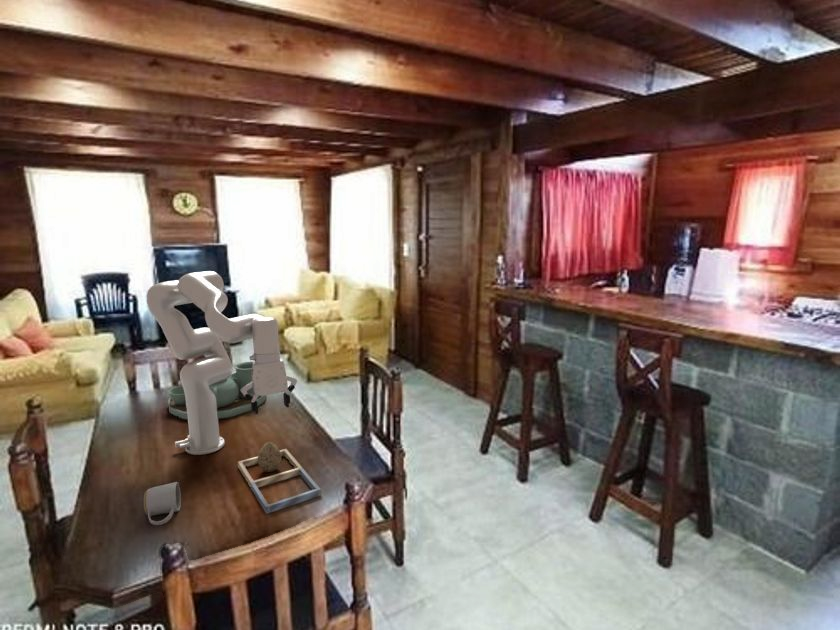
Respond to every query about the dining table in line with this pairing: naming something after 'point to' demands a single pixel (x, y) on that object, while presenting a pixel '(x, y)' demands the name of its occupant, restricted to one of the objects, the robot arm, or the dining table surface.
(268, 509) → the frame
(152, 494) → the ceramic mug
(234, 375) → the tea set
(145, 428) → the dining table surface
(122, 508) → the dining table surface
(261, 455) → the decorative egg
